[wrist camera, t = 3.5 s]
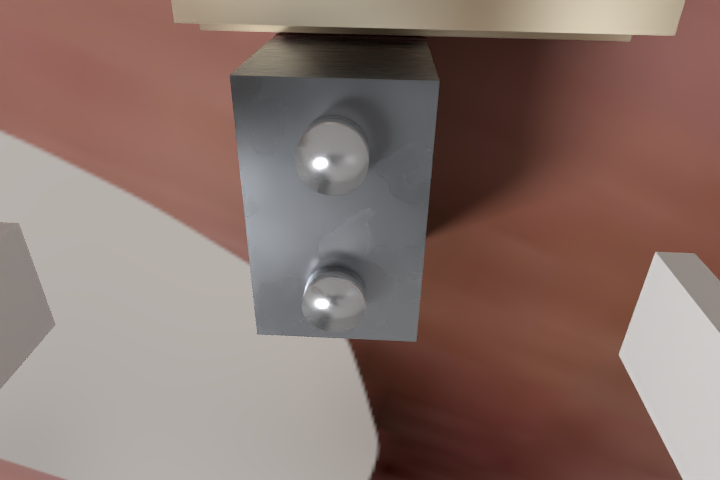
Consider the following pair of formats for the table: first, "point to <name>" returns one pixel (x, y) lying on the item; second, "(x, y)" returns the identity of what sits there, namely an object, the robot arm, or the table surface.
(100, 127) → the table surface
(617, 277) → the table surface
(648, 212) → the table surface
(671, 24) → the plinth
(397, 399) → the table surface
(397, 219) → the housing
